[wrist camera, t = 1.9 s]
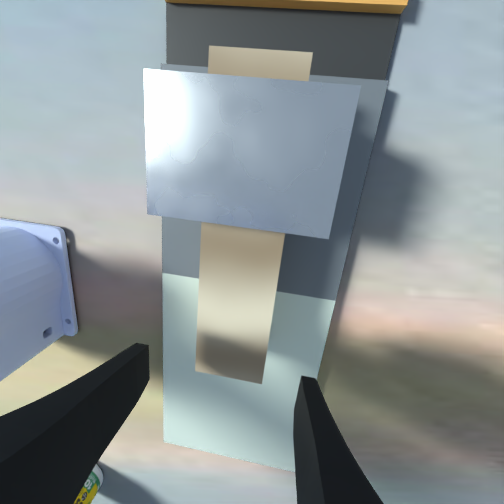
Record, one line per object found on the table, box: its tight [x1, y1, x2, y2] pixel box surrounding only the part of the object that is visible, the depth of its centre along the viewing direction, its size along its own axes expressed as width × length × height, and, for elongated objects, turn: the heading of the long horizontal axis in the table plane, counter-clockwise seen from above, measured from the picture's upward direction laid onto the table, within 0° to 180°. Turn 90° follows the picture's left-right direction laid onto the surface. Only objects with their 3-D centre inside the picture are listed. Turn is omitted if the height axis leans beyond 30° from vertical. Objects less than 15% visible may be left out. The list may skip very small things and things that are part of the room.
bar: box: [195, 46, 313, 384], centre depth 14 cm, size 16×4×4 cm, turn 174°
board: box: [161, 0, 408, 472], centre depth 18 cm, size 34×12×1 cm, turn 174°
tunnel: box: [144, 69, 361, 239], centre depth 12 cm, size 5×7×6 cm
